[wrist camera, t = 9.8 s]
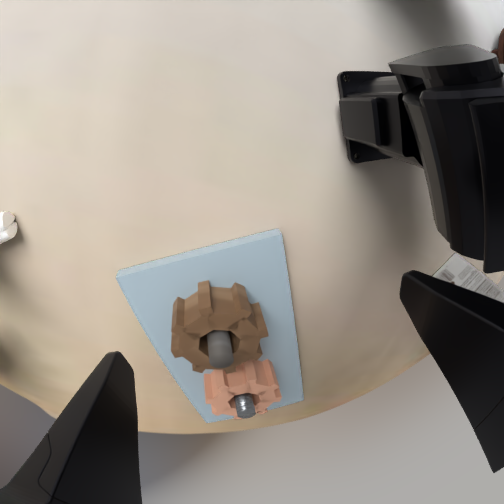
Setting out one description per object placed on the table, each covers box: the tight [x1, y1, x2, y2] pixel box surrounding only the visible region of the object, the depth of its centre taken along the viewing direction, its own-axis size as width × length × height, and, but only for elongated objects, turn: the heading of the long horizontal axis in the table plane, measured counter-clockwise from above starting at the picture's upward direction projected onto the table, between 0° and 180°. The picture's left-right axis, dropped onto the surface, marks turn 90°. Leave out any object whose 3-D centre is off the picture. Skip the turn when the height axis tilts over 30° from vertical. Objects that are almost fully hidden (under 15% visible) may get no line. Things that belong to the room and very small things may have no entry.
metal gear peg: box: [234, 393, 256, 418], centre depth 23 cm, size 2×2×4 cm
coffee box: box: [433, 253, 504, 303], centre depth 20 cm, size 9×6×16 cm
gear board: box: [116, 229, 304, 423], centre depth 24 cm, size 12×22×1 cm, turn 11°
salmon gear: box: [204, 359, 282, 419], centre depth 24 cm, size 7×7×3 cm
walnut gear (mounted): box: [171, 280, 269, 374], centre depth 19 cm, size 7×7×4 cm
